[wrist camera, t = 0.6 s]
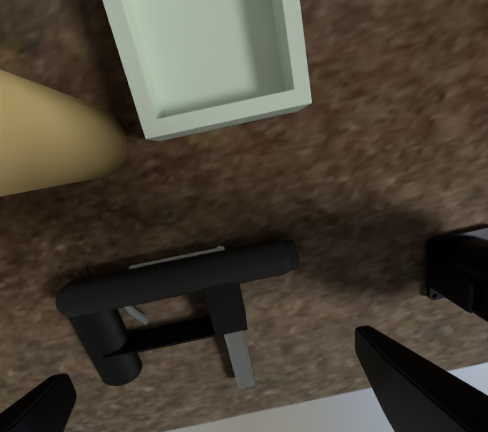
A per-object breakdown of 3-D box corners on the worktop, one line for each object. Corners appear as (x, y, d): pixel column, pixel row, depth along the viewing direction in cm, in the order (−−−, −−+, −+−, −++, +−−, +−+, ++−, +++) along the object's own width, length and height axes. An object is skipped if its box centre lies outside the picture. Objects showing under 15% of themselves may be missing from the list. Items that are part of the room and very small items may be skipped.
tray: (273, -70, 15) (284, -124, 12) (298, 111, 18) (311, 102, 15) (106, -35, 15) (77, -81, 12) (158, 141, 18) (145, 139, 15)
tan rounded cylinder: (112, 95, 17) (-362, -145, 3) (137, 169, 18) (-122, 215, 5) (38, 111, 17) (-759, -69, 3) (69, 184, 18) (-390, 273, 5)
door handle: (314, 381, 23) (297, 232, 17) (112, 425, 22) (31, 286, 17) (303, 352, 26) (286, 218, 20) (126, 389, 25) (62, 263, 20)
